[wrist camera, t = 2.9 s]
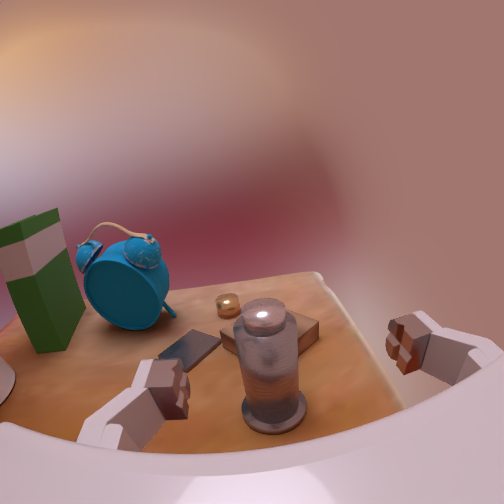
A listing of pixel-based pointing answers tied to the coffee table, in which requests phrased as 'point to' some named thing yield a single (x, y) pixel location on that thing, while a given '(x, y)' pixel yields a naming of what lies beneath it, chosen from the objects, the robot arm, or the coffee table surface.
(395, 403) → the coffee table surface
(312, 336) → the stand
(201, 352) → the steel plate
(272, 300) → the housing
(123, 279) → the alarm clock
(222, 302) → the brass knob
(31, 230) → the hardback book
